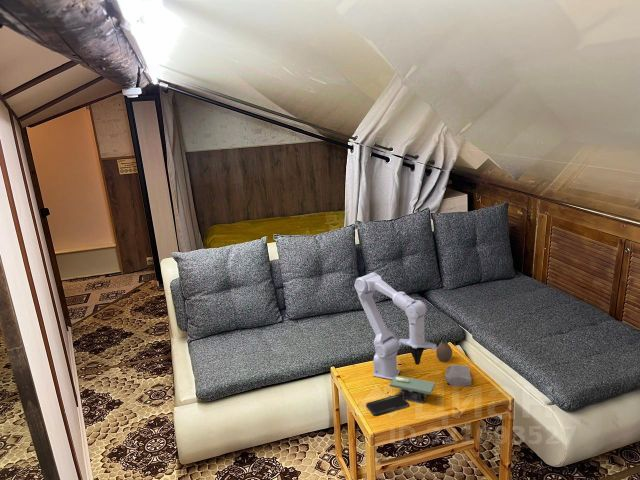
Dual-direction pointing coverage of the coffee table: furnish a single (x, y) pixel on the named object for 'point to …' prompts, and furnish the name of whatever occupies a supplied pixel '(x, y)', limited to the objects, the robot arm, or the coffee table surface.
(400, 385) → the plate
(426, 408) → the coffee table surface
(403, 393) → the tribrach base
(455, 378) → the stone block
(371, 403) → the phone
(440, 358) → the vase
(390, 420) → the coffee table surface
